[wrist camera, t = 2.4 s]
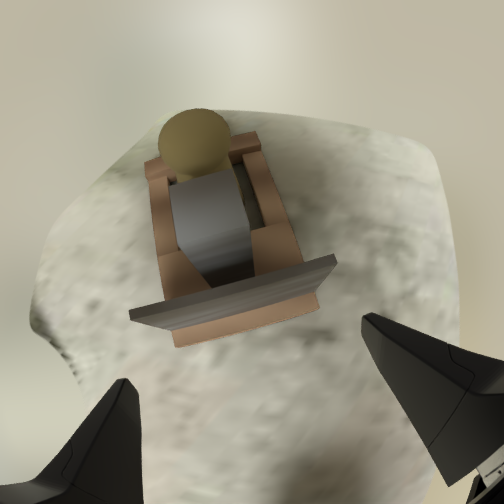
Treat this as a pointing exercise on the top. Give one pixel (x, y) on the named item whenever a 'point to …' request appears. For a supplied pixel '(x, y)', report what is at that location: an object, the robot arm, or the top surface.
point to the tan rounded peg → (196, 145)
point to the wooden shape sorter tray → (225, 253)
